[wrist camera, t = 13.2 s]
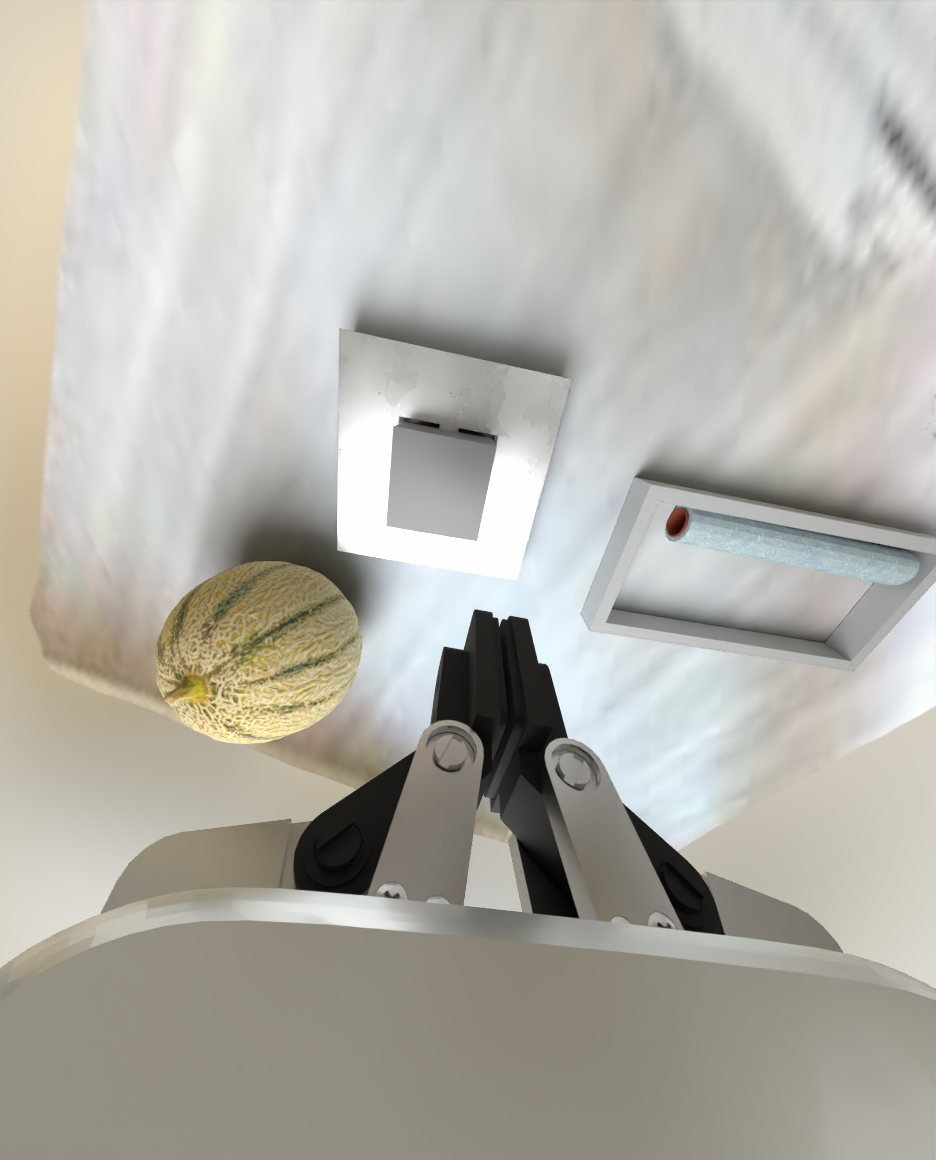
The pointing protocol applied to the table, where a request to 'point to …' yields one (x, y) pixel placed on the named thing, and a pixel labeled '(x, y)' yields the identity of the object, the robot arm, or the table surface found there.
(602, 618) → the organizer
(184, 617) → the cantaloupe
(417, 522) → the plug
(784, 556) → the aluminum foil
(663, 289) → the table surface
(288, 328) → the table surface
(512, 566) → the socket
